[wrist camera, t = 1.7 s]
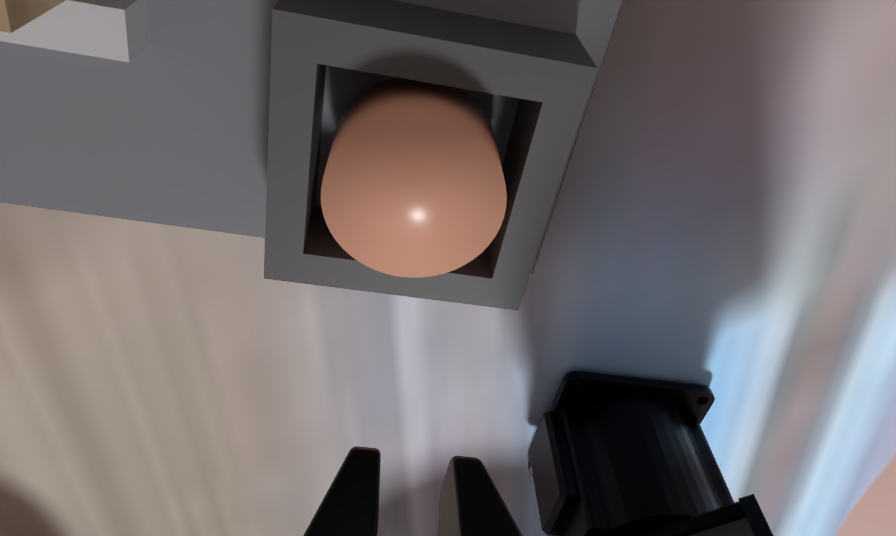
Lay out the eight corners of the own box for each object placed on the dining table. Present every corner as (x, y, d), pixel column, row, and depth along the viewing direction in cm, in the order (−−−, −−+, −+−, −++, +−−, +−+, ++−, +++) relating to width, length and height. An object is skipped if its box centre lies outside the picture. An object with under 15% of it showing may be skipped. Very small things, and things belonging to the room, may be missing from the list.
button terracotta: (514, 91, 17) (527, 133, 15) (477, 235, 19) (484, 287, 17) (339, 61, 16) (328, 101, 14) (325, 213, 18) (314, 265, 16)
